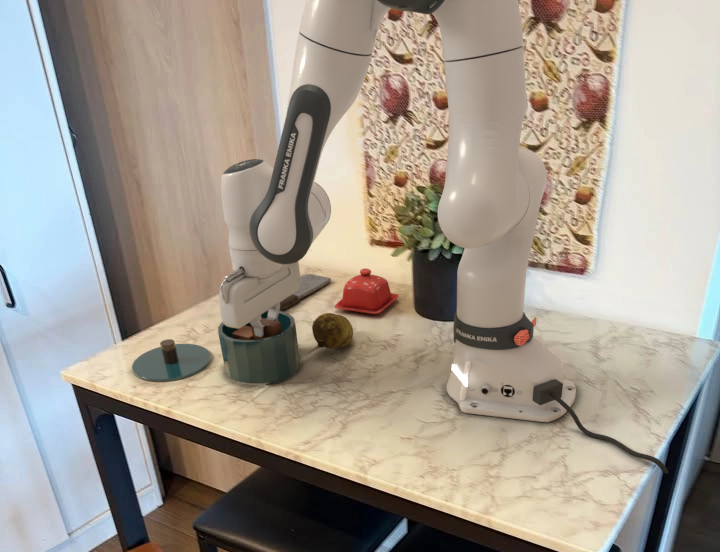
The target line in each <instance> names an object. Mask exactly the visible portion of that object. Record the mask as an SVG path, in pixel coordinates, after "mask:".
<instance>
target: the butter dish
mask: <svg viewBox="0 0 720 552" xmlns="http://www.w3.org/2000/svg"><path fill="white" fill-rule="evenodd" d="M371 273H372V270H371V269H369V268H361V269H360V270H359V274H356V275H354V276H352V278H350V279H348V280H347V282H346V283H345V284H344V286H343V291H342V298H341V300H339V301H337V302H336V303H335V305H334V308H335V309H338V310H344V311H351V312H355V313H362V314H370V315H377V314H380V313H382V312H383V311H385V309H387V307H389V306H390V305H391V304H392V303H394V302H395V301H396V300H397V299H398V298H399V297H400V296H399V294H397V293H392V292H391V287H390V284H389V282H388V280H387V279H386V278H385V277H382V276H379V275H375V274H371Z"/></svg>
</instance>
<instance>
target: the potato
mask: <svg viewBox="0 0 720 552" xmlns="http://www.w3.org/2000/svg"><path fill="white" fill-rule="evenodd" d="M311 330H312V331H311V332H312V335H313V338H314V340H315V342H316V343H317V346H318V347H319V348H322V349H323V348H325V349H328V350H336V349H342V348H345V347H347V346H348V345H349V344H350V343H351V342H352V340H353V337H354V327H353V325H352V323H351V322H350V320H349V319H348V318H347V317H346V316H345V315H344V316H343V315H341V314H336V313H332V312H325V313H322V314H320V315H318V316H317V317H316V318H315V320H313V322H312V326H311Z"/></svg>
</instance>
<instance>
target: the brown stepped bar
mask: <svg viewBox="0 0 720 552" xmlns="http://www.w3.org/2000/svg"><path fill="white" fill-rule="evenodd" d="M260 322H261V324H262V325H266V331H267V333H266V334H265V335H264V336H262V337H258V336H256V335H255V333H254V327H253V326H252V325H251V327H249V326H243V327H241V328H239V329H238V330H236V331H235V332H233V333H232V334H231V335H232V337H233V338H238V339H243V340H253V339H254V340H260V339H264V338H269V337H273V336H275V335H278V334H280V333H281V325H280V321H275V320H270V319H264V318H261V320H260Z"/></svg>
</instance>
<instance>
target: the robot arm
mask: <svg viewBox="0 0 720 552" xmlns="http://www.w3.org/2000/svg"><path fill="white" fill-rule="evenodd" d="M392 9H393V10H396V11H402V12H410V13H415V14H421V15H431V14H432V15H433V16H434V18H435V20H436V22H437V24H438V28H439V31H440V37H441V38H440V39H441V46H442V56H443V67H444V77H445V86H446V96H447V98H446V99H447V106H448V107H447V108H448V109H447V110H448V142H447V145H448V146H447V156H446V167H445V179H444V185H443V186H444V187H443V189H442V190H443V191H442V194H441V196H440V199H439V202H438V205H437V206H438V207H437V222H438V225H439V227H440V230H441V232H442V233H443V235H444V236H445V237H446V239H448V241H449V242H451V243H452V244H453V245H455V246H457V247H458V248H462V249H463V252H462V256H461V258H460V260H459V264H458V266H457V267H458V268H457V272H456V275H457V277H456V311H455V313H454V316H453V327H452V333H453V343H454V352H453V358H452V364H451V370H450V374H449V376H448V380H447V383H446V386H445V389H446V392H447V395H448V396H449V397H450V398H451V399H452V400H454V401H455V402H456V403H457V404H458V407H459V410H460V411H461V412H463V413H464V414H472V415H479V416H488V417H497V418H506V419H514V420H522V421H532V422H539V423H551V422H553V421H555V420H558V419H559V418H561V417H563V416H564V415H565V414H566V413H568V414H569V415H570V417H571V418H572V420H573V421H574V423H575V425H576V427H577V428H578V429H579V431H580V432H582V433H583V434H584V435H586V436H588V437H590V438H592V439H593V438H594V439H598V440H603V441H606V442H609V443H611V444H613V445H615V446H616V447H617V448H619V449H621V450H622V451H624V452H626V453H627V454H629V455H631V456H633V457H635V458H639V459H642V460H646V461H649V462H652V463H654V464H655V465H656V466H658V468H659V469H660V470H661V472H662V473H663V474H669V470H668V468H667V467H666V465H665V464H664V463H663V462H662V461H661V460H660V459H658V458H657V457H655V456H653V455H649V454H645V453H641V452H638V451H636V450H633V449H631V448H630V447H628V446H627V445H625V444H624V443H622V442H620V441H619V440H617V439H615V438H613V437H611V436H608V435H605V434H600V433H595V432H593V431H590V430H588V429H587V428H585V426H584V425H583V424H582V422H581V421H580V419H579V417H578V416H577V413H576V412H575V411H574V410H573V409H572V408H571V407H572V406H573V404H574V402H575V400H576V397H577V389H576V385H575V383H574V382H573V381H572V380H569V379H566V378H565V374H564V366H563V362H562V360H561V358H560V357H559V356H558V355H557V354H556V353H554V352H553V351H552V350H550V349H549V348H548V347H547V346H546V345H545V344H544V343H542V342H541V341H540V340H538V339H537V337H535V336H534V330H535V327H536V326H537V317H534V318H533V319H532V320H530V319H529V318H528V316H527V315H526V313H525V311H524V309H525V295H526V282H527V273H528V272H527V271H528V264H529V261H530V255H531V250H532V247H533V243H534V238H535V233H536V229H537V223H538V219H539V212H540V208H541V202H542V198H543V197H544V193H545V190H546V187H547V182H548V174H547V168H546V166H545V163H544V161H543V160H542V159H541V157H540V156H539V155H538V154H537V153H535V151H533V150H531V149H529V148H525V147H520V144H521V143H520V142H521V134H522V129H523V124H524V119H525V116H526V113H527V105H528V103H527V102H528V101H527V89H526V88H527V87H526V86H527V85H526V84H527V83H526V68H525V67H526V66H525V52H524V51H525V50H524V37H523V36H524V35H523V26H522V16H521V10H520V4H519V0H306V1H305V4H304V8H303V12H302V16H301V20H300V26H299V30H298V35H297V41H296V47H295V53H294V61H293V67H292V75H291V83H290V89H289V95H288V101H287V108H286V115H285V118H284V124H283V127H282V132H281V134H280V135H281V136H280V139H279V144H278V148H277V153H276V157H275V160H274V165H273V166H272V165H270V164H269V163H268V162H267V161H265V160H264V159H260V158H252V159H247V160H242V161H240V162H238V163H234V164H232V165H231V166H229V167H228V168H227V169H225V170H224V172H223V173H222V175H221V178H220V179H221V180H220V195H221V205H222V212H223V220H224V222H225V224H226V227H227V231H228V240H227V241H228V242H227V244H228V251H229V255H230V261H231V262H230V263H231V268H232V272H230V273H227V274H226V275H225V276H223V280H222V282H221V284H220V287H219V310H220V311H219V312H220V319H221V323H222V322H223V324H224V325H225V326H227V327H231V328H237V329H239V328H241V327H243V326H245V325H246V324H248V323H250V324H251V325H252V326H253V327H254V333H255V335H256V336H258V337H262V336H264V335H265V334H266V333H267V331H266V325H262V324H261V322H260V320H261V314H263V313H264V312H266V311H267V310H268V318H266V319H270V320H275V321H278V319H277V317H278V314H279V310H280V302H281V301H283V300H284V299H286V298H287V297H289V296H290V295H292V294H293V293H295V292H296V291H298V289H299V286H300V277H301V271H300V264H299V261H301V260H302V259H303V258H304V257H305V256H306V255H307V253H308V251H309V250H310V248H311V246H312V244H313V243H314V241H315V240H316V239H317V238H318V237H319V235H320V234H321V233H322V232H323V230H324V229H325V227H326V226H327V224H328V223H329V221H330V218H331V214H332V206H331V201H330V197H329V196H328V194H327V192H326V190H325V189H324V188H323V187H322V186H321V185H320V184H319V183H317V182H315V181H316V180H315V179H316V177H317V172H318V169H319V164H320V161H321V157H322V153H323V150H324V149H325V148H324V147H325V146H326V143H327V141H328V139H329V137H330V135H331V134H332V132H333V131H334V129H335V128H336V126H337V125H338V123H339V122H340V121H341V119H342V118H343V117H344V116H345V114H347V112H348V111H349V110H350V109H351V107H352V106H353V104H354V103H355V102H356V99H357V98H358V96H359V94H360V92H361V89H362V87H363V85H364V82H365V79H366V76H367V74H368V71H369V68H370V64H371V60H372V58H373V57H372V56H373V52H374V48H375V43H376V39H377V35H378V32H379V29H380V25H381V23H382V21H383V19H384V17H385V15H387V13H388V12H389V11H390V10H392Z"/></svg>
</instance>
